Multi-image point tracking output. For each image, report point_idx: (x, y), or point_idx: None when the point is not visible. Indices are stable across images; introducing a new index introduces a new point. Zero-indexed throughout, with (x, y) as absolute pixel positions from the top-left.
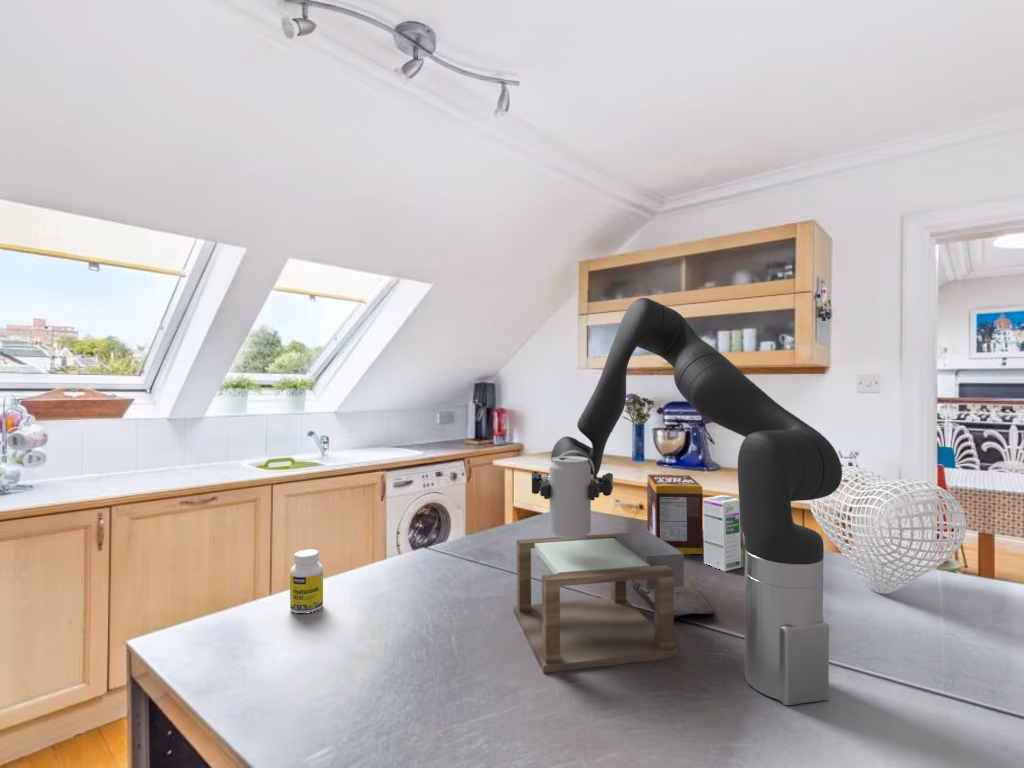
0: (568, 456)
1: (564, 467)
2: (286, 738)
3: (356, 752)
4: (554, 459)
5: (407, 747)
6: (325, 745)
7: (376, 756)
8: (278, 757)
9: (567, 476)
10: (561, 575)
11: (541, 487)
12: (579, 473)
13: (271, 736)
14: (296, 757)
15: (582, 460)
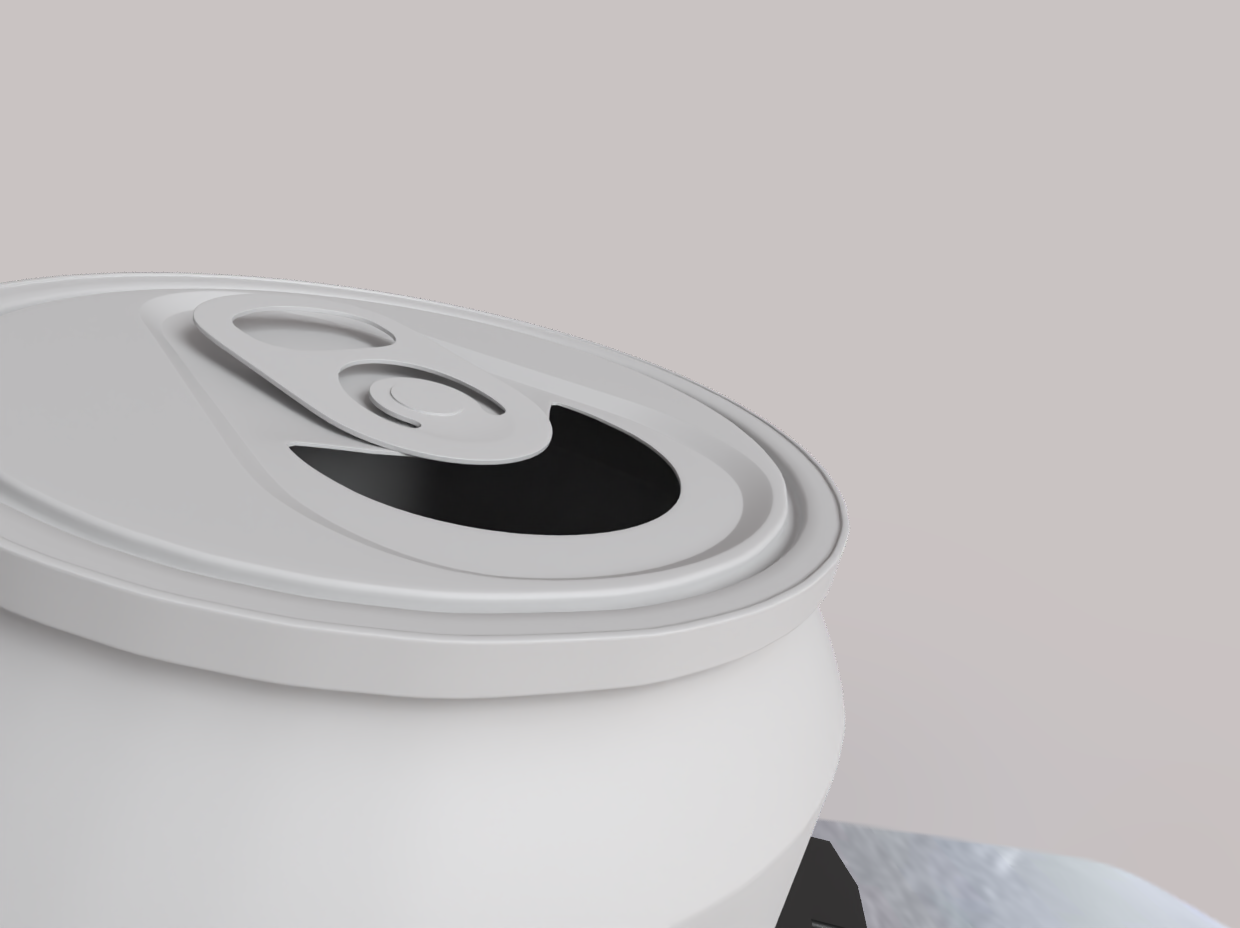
0: (288, 603)
1: (561, 418)
2: (1113, 911)
3: (936, 851)
4: (765, 453)
5: (841, 849)
6: (1013, 879)
7: (889, 835)
8: (1071, 860)
9: (500, 508)
10: None
11: (824, 849)
12: (327, 448)
13: (1150, 922)
14: (1038, 855)
15: (177, 318)
